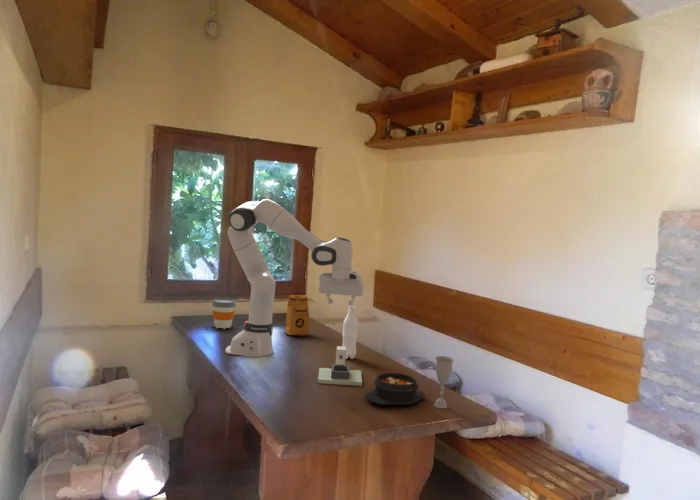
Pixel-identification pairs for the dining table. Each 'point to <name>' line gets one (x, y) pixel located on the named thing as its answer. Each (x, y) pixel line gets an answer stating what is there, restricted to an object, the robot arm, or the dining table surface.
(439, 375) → the chalice
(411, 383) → the casserole
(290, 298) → the coffee package
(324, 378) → the socket board
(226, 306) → the reusable coffee cup
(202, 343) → the dining table surface
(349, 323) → the water bottle
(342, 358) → the keyed plug
